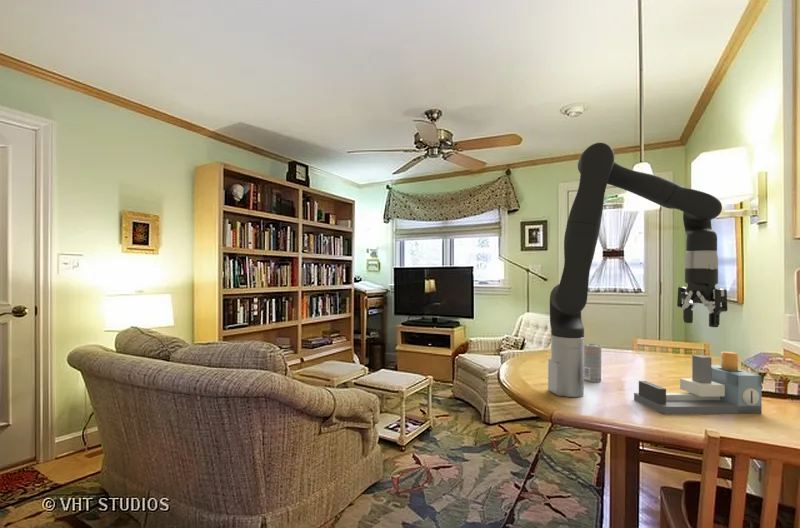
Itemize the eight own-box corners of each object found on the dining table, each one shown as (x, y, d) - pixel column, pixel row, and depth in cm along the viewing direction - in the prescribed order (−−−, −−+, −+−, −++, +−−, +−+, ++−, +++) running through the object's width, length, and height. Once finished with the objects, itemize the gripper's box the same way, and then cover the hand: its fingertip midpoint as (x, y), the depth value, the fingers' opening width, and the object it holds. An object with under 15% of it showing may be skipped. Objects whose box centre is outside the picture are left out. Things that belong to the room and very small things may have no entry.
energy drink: (597, 378, 139) (597, 344, 140) (603, 382, 134) (604, 346, 134) (581, 378, 140) (581, 343, 140) (587, 382, 134) (587, 346, 135)
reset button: (729, 370, 110) (729, 354, 110) (718, 367, 114) (718, 351, 114) (741, 370, 110) (741, 354, 110) (729, 367, 114) (729, 351, 114)
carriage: (700, 396, 107) (700, 359, 108) (680, 388, 114) (680, 353, 115) (724, 396, 108) (724, 359, 108) (703, 388, 115) (703, 353, 115)
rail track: (665, 415, 103) (666, 376, 104) (634, 399, 116) (634, 365, 116) (763, 414, 105) (763, 376, 106) (721, 399, 118) (721, 365, 118)
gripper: (669, 267, 120) (668, 321, 120) (710, 266, 106) (710, 328, 106) (692, 268, 121) (692, 322, 121) (736, 267, 107) (736, 328, 106)
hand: (700, 324), depth 113 cm, fingers open, 8 cm apart
